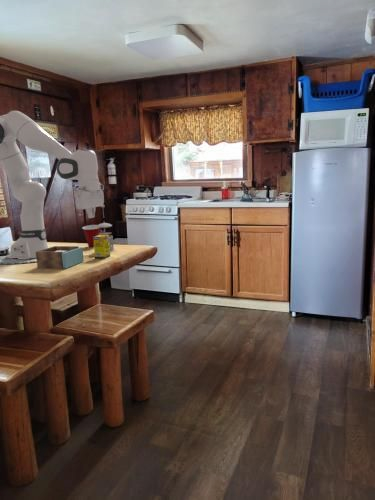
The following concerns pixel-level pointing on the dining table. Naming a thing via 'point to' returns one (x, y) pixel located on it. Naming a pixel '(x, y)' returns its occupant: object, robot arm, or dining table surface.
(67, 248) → the brown wooden crate
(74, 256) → the tray
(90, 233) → the plastic cup
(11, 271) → the dining table surface
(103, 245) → the yellow cylinder
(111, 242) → the french press
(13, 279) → the dining table surface
